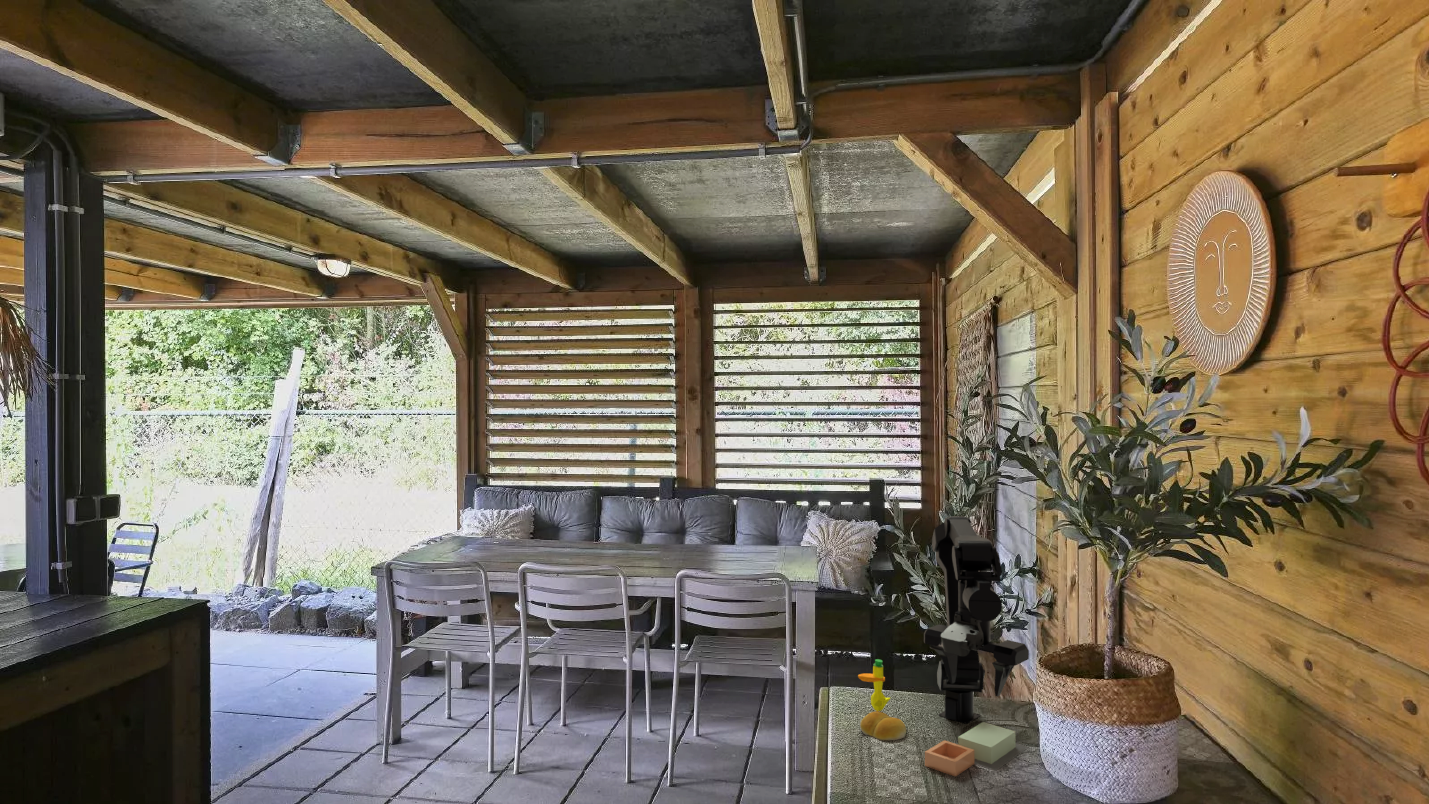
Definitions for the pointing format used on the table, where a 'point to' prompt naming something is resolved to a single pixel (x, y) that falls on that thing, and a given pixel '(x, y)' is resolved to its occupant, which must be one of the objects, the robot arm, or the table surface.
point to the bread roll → (882, 726)
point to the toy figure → (876, 685)
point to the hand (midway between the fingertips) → (974, 689)
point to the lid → (988, 741)
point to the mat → (1002, 758)
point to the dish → (949, 758)
